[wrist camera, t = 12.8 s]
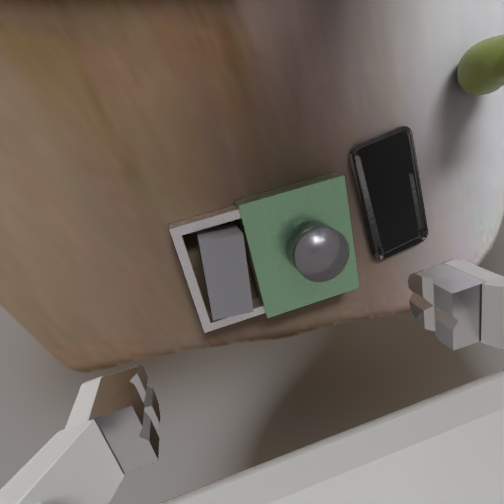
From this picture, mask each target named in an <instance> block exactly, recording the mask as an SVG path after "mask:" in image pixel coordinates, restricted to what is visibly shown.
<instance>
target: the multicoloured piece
mask: <svg viewBox="0 0 504 504" xmlns="http://www.w3.org/2000/svg"><path fill="white" fill-rule="evenodd" d="M234 204H235V205H233V206H229V207H226V208H222V209H219V210H215V211H212V212H208V213H205V214H201V215H198V216H194V217H191V218H187V219H184V220H180V221H177V222H173V223H170V224H169V230H170V233H171V236H172V239H173V242H174V245H175V248H176V251H177V254H178V257H179V260H180V262H181V265H182V268H183V271H184V274H185V277H186V280H187V283H188V286H189V289H190V292H191V295H192V298H193V300H194V303H195V306H196V309H197V312H198V315H199V318H200V321H201V324H202V327H203V330H204V333H206V332H209V331H212V330H215V329H218V328H221V327H224V326H227V325H230V324H233V323H236V322H239V321H243V320H246V319H249V318H252V317H255V316H258V315H261V314H264V313H265V315H266V317H267V318H270V317H273V316H276V315H279V314H282V313H285V312H288V311H291V310H294V309H297V308H300V307H303V306H306V305H309V304H312V303H315V302H318V301H321V300H324V299H327V298H330V297H333V296H336V295H339V294H342V293H345V292H348V291H351V290H354V289H357V288H360V287H359V279H358V272H357V264H356V257H355V249H354V242H353V235H352V227H351V220H350V212H349V205H348V197H347V190H346V182H345V175H341V174H337V173H329V174H325V175H322V176H318V177H315V178H311V179H308V180H304V181H301V182H297V183H294V184H290V185H287V186H283V187H280V188H276V189H273V190H269V191H266V192H262V193H259V194H255V195H252V196H248V197H245V198H241V199H238V200H234ZM237 219H239V223H240V227H241V231H242V233H243V236H244V242H245V246H246V250H247V254H248V258H249V261H250V265H251V269H252V273H253V277H254V281H255V285H256V288H257V292H258V296H259V297H256V298H253V299H252V304H253V311H254V312H250V313H246V314H241V315H237V316H232V317H227V318H223V319H218V320H214V321H213V317H212V313H211V312H210V313H208V310H207V307H206V304H205V301H204V298H203V295H202V292H201V289H200V286H199V283H198V280H197V277H196V273H195V270H194V267H193V264H192V261H191V258H190V255H189V252H188V249H187V246H186V243H185V240H184V237H183V235H185V234H189V233H192V232H196V231H199V230H202V229H206V228H209V227H213V226H216V225H220V224H223V223H226V222H230V221H233V220H237Z"/></svg>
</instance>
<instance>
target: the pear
mask: <svg viewBox="0 0 504 504" xmlns="http://www.w3.org/2000/svg"><path fill="white" fill-rule="evenodd" d="M457 79H458V82H459V84H460V86H461V87H462V89H463V90H464V91H466V92H467V93H470V94H473V95H484V94H488V93H491V92H494V91H496V90H497V89H499V88H500V87H501V86H503V85H504V35H499V36H496V37H492V38H489V39H486V40H483V41H481V42H479V43H477V44H476V45H474V46H473V47H471V48H470V49H469V50H468V51H467V52H466V53H465V54H464V56H463V57H462V58H461V60H460V62H459V65H458V69H457Z"/></svg>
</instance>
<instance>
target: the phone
mask: <svg viewBox="0 0 504 504" xmlns="http://www.w3.org/2000/svg"><path fill="white" fill-rule="evenodd" d="M349 159H350V163H351V167H352V171H353V175H354V180H355V184H356V188H357V192H358V197H359V201H360V205H361V209H362V213H363V218H364V222H365V226H366V230H367V235H368V239H369V243H370V247H371V252H372V254H373V255H374V256H375V257H377V258H379V259H384V258H387V257H389V256H391V255H393V254H396V253H398V252H400V251H402V250H405V249H407V248H409V247H411V246H414V245H416V244H418V243H420V242H422V241H424V240H425V239H426V237H427V235H428V228H427V222H426V216H425V209H424V203H423V197H422V191H421V184H420V178H419V172H418V166H417V159H416V153H415V147H414V141H413V134H412V131H411V129H410V128H409V127H406V126H401V127H397V128H394V129H392V130H389V131H387V132H385V133H382V134H380V135H377V136H375V137H372V138H370V139H368V140H365V141H363V142H360V143H358V144H356V145H354V146H353V147H352V148H351V150H350V152H349Z"/></svg>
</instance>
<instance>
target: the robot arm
mask: <svg viewBox="0 0 504 504" xmlns="http://www.w3.org/2000/svg"><path fill="white" fill-rule="evenodd" d="M408 288H409V289H410V290H411V291H412V292H413V294H412V296H411V298H410V300H409V302H410V310H411V312H412V315H413V317H414V319H415V320H416V321H417V322H418V324H419V325H421V326H422V327H423V328H424V329H427V330H431V331H435V334H436V338H438V339H439V340H440V341H442V342H443V343H444V344H446V345H447V346H448V347H450V348H451V349H452V350H456V349H459V348H462V347H465V346H468V345H471V344H474V343H477V342H480V341H481V343H484V344H487V345H490V346H493V347H496V348H499V349H502V350H504V276H503V277H502V276H500V275H498V274H495V273H493V272H491V271H488V270H486V269H483V268H481V267H478V266H476V265H474V264H471V263H469V262H466V261H464V260H461V259H451V260H449V261H446V262H443V263H441V264H439V265H436V266H433V267H430V268H428V269H425V270H422V271H419V272H417V273H414V274H411V275H409V279H408ZM147 377H148V376H147V374H146V372H145V370H144V368H143V366H141V365H137V366H134V367H131V368H127V369H124V370H121V371H118V372H114V373H111V374H108V375H105V376H101V377H98V378H96V379H93V380H90V381H87V382H85V383H83V384H82V385H81V387H80V390H79V393H78V395H77V398H76V401H75V403H74V406H73V408H72V411H71V414H70V417H69V419H68V422H67V424H66V427H65V429H64V430H62V431H59V432H58V433H56V434H55V435H54V437H52V439H51V440H50V441H49V442H48V443H47V444H46V445H45V446H44V447H43V448H42V449H41V450H40V451H39V452H38V453H37V454H36V455H35V456H34V457H33V458H32V459H31V460H30V461H29V462H28V463H27V464H26V465H25V466H24V467H23V468H22V469H21V470H20V471H19V472H18V473H17V474H16V475H15V476H14V477H13V478H12V479H11V480H10V481H9V482H8V483H7V484H6V485H5V486H4V487H3V488H2V489H1V490H0V504H109V502H110V501H111V499H112V497H113V495H114V493H115V492H116V490H117V488H118V487H119V485H120V483H121V481H122V480H123V478H124V474H126V473H128V472H131V471H133V470H136V469H138V468H140V467H143V466H145V465H148V464H150V463H153V462H155V461H158V454H159V436H158V434H157V432H156V429H157V428H158V426H159V425H160V411H159V404H158V401H157V397H156V395H155V392H154V390H153V389H152V388H150V387H148V386H147ZM159 504H504V370H501V371H498V372H496V373H493V374H491V375H488V376H485V377H483V378H480V379H478V380H475V381H473V382H470V383H467V384H465V385H462V386H460V387H457V388H455V389H452V390H449V391H447V392H444V393H442V394H439V395H437V396H434V397H431V398H429V399H426V400H424V401H421V402H418V403H416V404H413V405H411V406H408V407H406V408H403V409H400V410H398V411H395V412H393V413H390V414H388V415H385V416H383V417H380V418H377V419H375V420H372V421H370V422H367V423H365V424H362V425H359V426H357V427H354V428H352V429H349V430H347V431H344V432H342V433H339V434H337V435H334V436H331V437H329V438H326V439H324V440H321V441H318V442H316V443H313V444H311V445H308V446H306V447H303V448H301V449H298V450H296V451H293V452H290V453H288V454H285V455H283V456H280V457H277V458H275V459H272V460H270V461H267V462H264V463H262V464H259V465H257V466H254V467H252V468H249V469H246V470H244V471H241V472H239V473H236V474H234V475H231V476H228V477H226V478H223V479H221V480H218V481H216V482H213V483H211V484H208V485H205V486H203V487H200V488H198V489H195V490H193V491H190V492H187V493H185V494H182V495H179V496H177V497H175V498H172V499H169V500H167V501H164V502H162V503H159Z"/></svg>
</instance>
